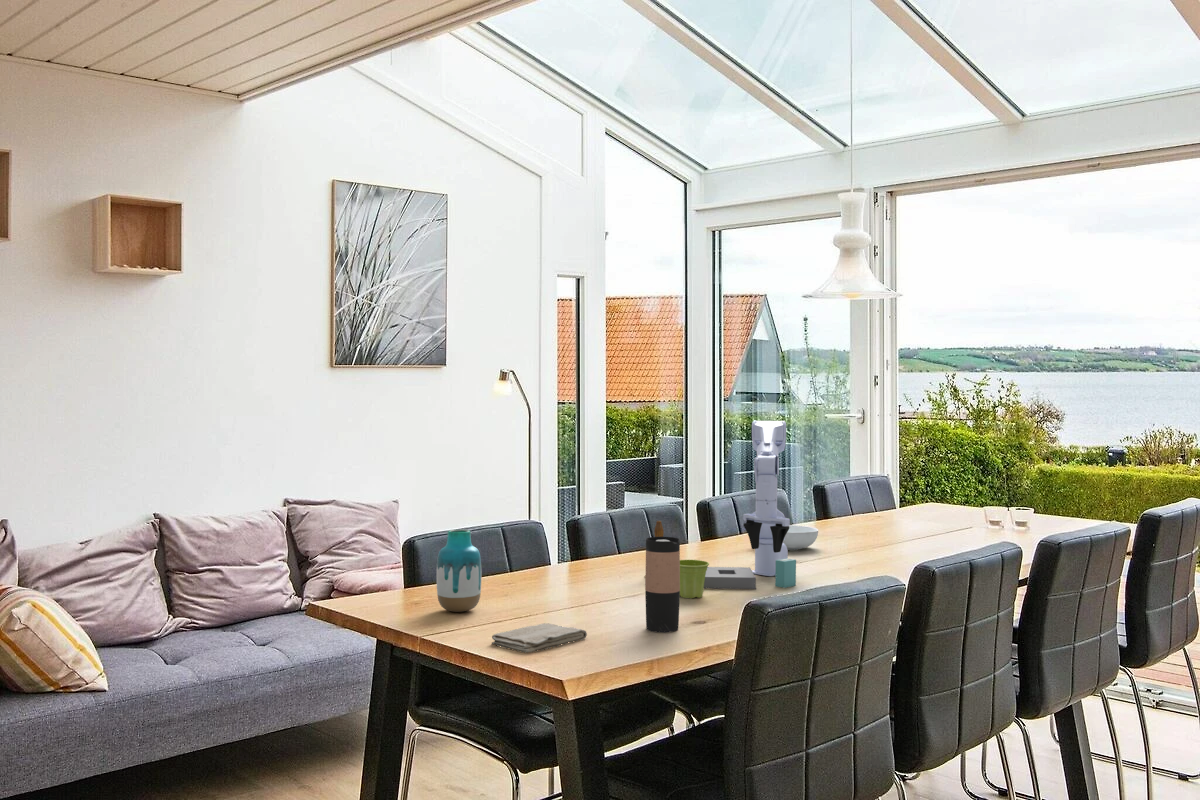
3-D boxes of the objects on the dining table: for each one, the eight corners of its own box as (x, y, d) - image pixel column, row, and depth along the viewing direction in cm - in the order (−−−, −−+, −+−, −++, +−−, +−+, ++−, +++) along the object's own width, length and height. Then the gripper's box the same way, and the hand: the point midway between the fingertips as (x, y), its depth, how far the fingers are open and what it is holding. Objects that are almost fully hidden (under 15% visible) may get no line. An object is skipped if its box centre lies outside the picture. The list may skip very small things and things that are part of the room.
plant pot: (712, 594, 282) (713, 560, 282) (704, 601, 273) (704, 566, 273) (677, 591, 285) (677, 558, 285) (668, 598, 276) (668, 564, 276)
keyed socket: (699, 577, 306) (699, 566, 306) (749, 578, 305) (750, 567, 305) (702, 588, 290) (702, 576, 290) (755, 588, 289) (755, 577, 289)
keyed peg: (786, 583, 297) (787, 557, 297) (795, 585, 295) (796, 559, 295) (775, 586, 294) (775, 559, 294) (784, 587, 291) (784, 561, 291)
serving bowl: (823, 553, 350) (823, 532, 350) (758, 553, 350) (758, 532, 350) (812, 544, 371) (812, 524, 370) (750, 543, 371) (750, 523, 371)
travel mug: (643, 625, 246) (643, 536, 245) (676, 624, 246) (677, 536, 246) (647, 633, 238) (647, 541, 238) (682, 632, 239) (682, 541, 238)
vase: (462, 617, 252) (462, 535, 252) (427, 612, 258) (427, 531, 258) (490, 609, 261) (490, 530, 261) (455, 604, 267) (456, 526, 267)
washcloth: (487, 647, 227) (487, 632, 227) (547, 632, 240) (547, 618, 240) (528, 656, 219) (528, 641, 219) (587, 641, 233) (587, 626, 233)
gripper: (736, 498, 297) (735, 548, 297) (777, 503, 286) (777, 555, 286) (753, 496, 301) (752, 546, 302) (794, 501, 290) (794, 552, 291)
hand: (766, 550), depth 294 cm, fingers open, 7 cm apart
